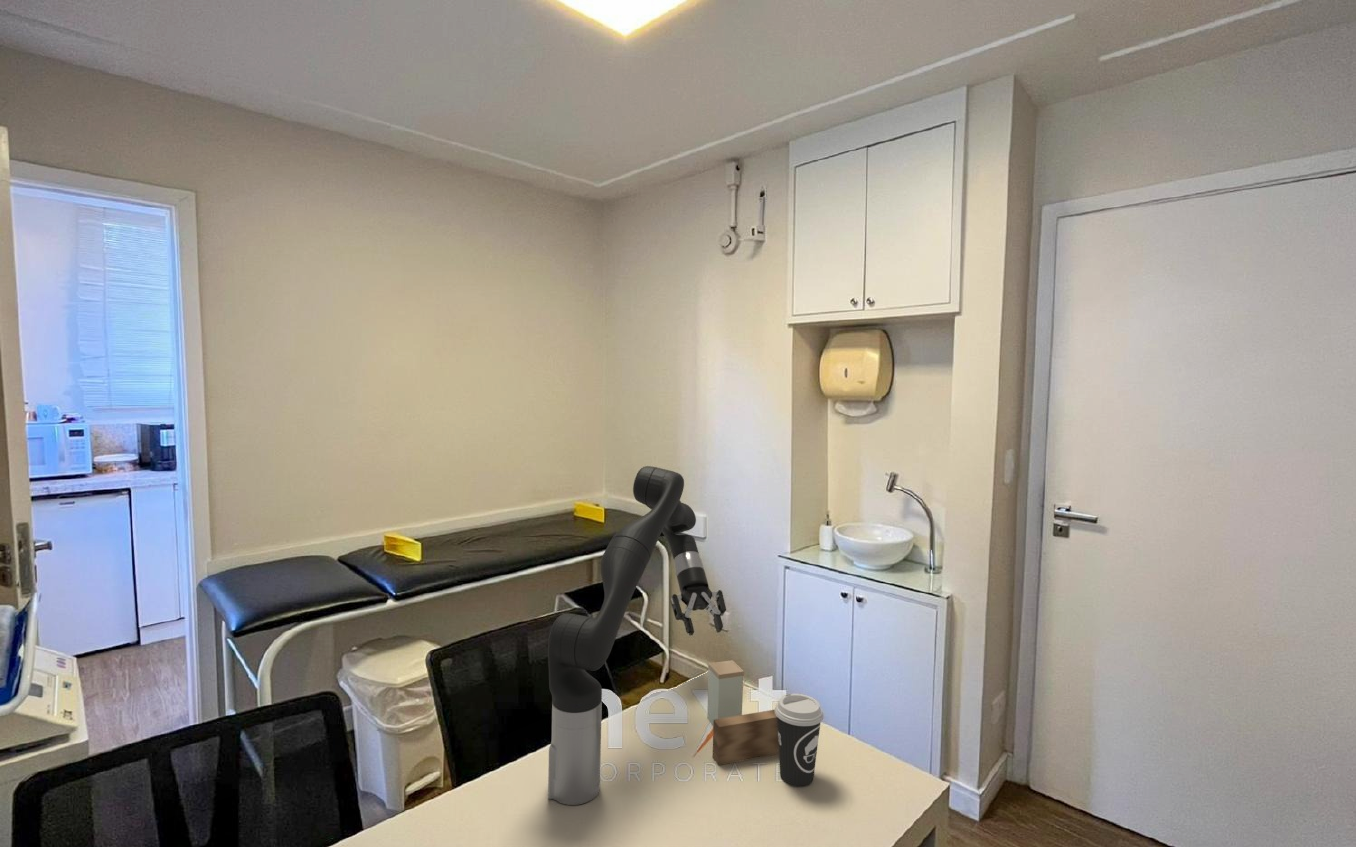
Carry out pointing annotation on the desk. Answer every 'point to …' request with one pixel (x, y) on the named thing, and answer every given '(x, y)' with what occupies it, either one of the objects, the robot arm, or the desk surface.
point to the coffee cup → (798, 737)
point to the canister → (724, 690)
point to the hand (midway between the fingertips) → (705, 632)
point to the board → (745, 737)
